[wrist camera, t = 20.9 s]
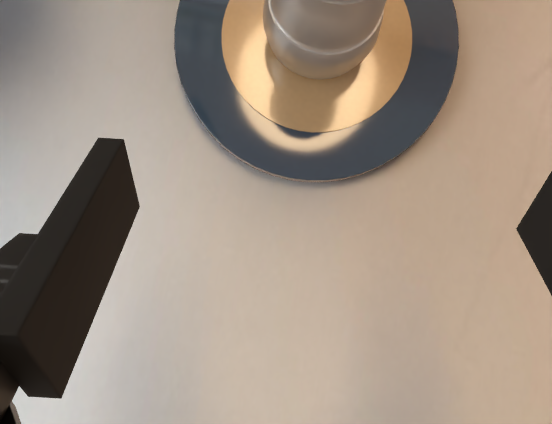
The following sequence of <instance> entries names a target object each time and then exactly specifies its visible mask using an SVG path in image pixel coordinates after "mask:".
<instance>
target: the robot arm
mask: <svg viewBox="0 0 552 424" xmlns="http://www.w3.org/2000/svg"><path fill="white" fill-rule="evenodd" d="M139 207H140V206H139V202H138V197H137V193H136V189H135V185H134V181H133V176H132V172H131V168H130V164H129V160H128V155H127V151H126V147H125V143H124V139H110V138H98V139H97V141H96V142H95V144H94V146H93V147H92V149H91V150H90V152H89V154H88V155H87V157H86V158H85V160H84V162H83V163H82V165H81V166H80V168H79V170H78V171H77V173H76V174H75V176H74V178H73V179H72V181H71V182H70V184H69V186H68V187H67V189H66V190H65V192H64V194H63V195H62V197H61V198H60V200H59V201H58V203H57V205H56V206H55V208H54V209H53V211H52V213H51V214H50V216H49V217H48V219H47V221H46V222H45V224H44V225H43V227H42V229H41V230H40V232H39V233H38V234H23V233H19V234H18V235H17V236H15V237H14V238H13V239H12V240H10V241H9V242H8V243H7V244H5V245H4V246H3V247H1V249H0V424H21V422H20V419H19V416H18V413H17V410H16V407H15V405H14V404H13V402H12V399H13V397H14V395H15V393H16V391H17V389H18V387H19V386H20V387H21V388H22V390H23V391H24V392H25V393H26V394H27V396H29V397H46V398H62V395H63V393H64V390H65V388H66V385H67V383H68V380H69V378H70V376H71V373H72V371H73V368H74V366H75V363H76V361H77V358H78V356H79V354H80V351H81V349H82V346H83V344H84V341H85V339H86V336H87V334H88V332H89V329H90V327H91V324H92V322H93V319H94V317H95V314H96V312H97V310H98V307H99V305H100V302H101V300H102V297H103V295H104V293H105V290H106V288H107V285H108V283H109V280H110V278H111V275H112V273H113V271H114V268H115V266H116V263H117V261H118V258H119V256H120V253H121V251H122V249H123V246H124V244H125V241H126V239H127V236H128V234H129V231H130V229H131V227H132V224H133V222H134V219H135V217H136V214H137V212H138V209H139ZM516 229H517V231H518V233H519V235H520V237H521V239H522V241H523V242H524V244H525V246H526V248H527V250H528V252H529V254H530V256H531V257H532V259H533V261H534V263H535V265H536V267H537V269H538V271H539V272H540V274H541V276H542V278H543V280H544V282H545V284H546V286H547V287H548V289H549V291H550V293H551V295H552V172H551V173H550V175H549V177H548V178H547V180H546V181H545V183H544V185H543V186H542V188H541V190H540V191H539V193H538V194H537V196H536V198H535V199H534V201H533V202H532V204H531V206H530V207H529V209H528V211H527V212H526V214H525V215H524V217H523V219H522V220H521V222H520V224H519V225H518V227H517V228H516Z"/></svg>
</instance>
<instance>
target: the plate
mask: <svg viewBox="0 0 552 424" xmlns="http://www.w3.org/2000/svg"><path fill="white" fill-rule="evenodd" d="M264 2H265V0H180V3H179V7H178V10H177V16H176V23H175V41H174V49H175V56H176V64H177V69H178V73H179V77H180V80H181V84H182V87H183V89H184V92H185V94H186V96H187V99H188V101H189V103H190V105H191V106H192V108H193V110H194V112H195V113H196V115H197V117H198V118H199V120H200V121H201V123H202V124H203V125H204V126H205V128H206V129H207V130H208V132H209V133H210V134H211V135H212V137H213V138H214V139H215V140H216V141H217V142H218V143H219V144H221V145H222V146H223V147H224V148H225V149H226V150H227V151H228V152H230V153H231V154H232V155H234V156H235V157H236V158H238V159H239V160H241V161H243V162H244V163H246V164H248V165H250V166H251V167H253V168H255V169H257V170H260V171H262V172H265V173H267V174H269V175H272V176H276V177H280V178H284V179H287V180H294V181H301V182H330V181H338V180H344V179H348V178H351V177H355V176H359V175H362V174H364V173H367V172H369V171H371V170H374V169H376V168H378V167H380V166H382V165H383V164H385V163H387V162H388V161H390V160H392V159H394V158H395V157H397V156H398V155H400V154H401V153H402V152H404V151H405V150H406V149H407V148H409V147H410V146H411V145H412V144H413V143H414V142H415V141H416V140H417V139H418V138H419V137H420V136H421V135H422V134H423V133H424V132H425V131H426V130H427V129H428V127H429V126H430V125H431V123H432V122H433V121H434V119H435V118H436V116H437V115H438V113H439V111H440V109H441V108H442V106H443V104H444V102H445V100H446V98H447V95H448V93H449V90H450V88H451V85H452V82H453V78H454V74H455V70H456V66H457V58H458V49H459V41H458V24H457V18H456V11H455V8H454V4H453V1H452V0H387V1H386V3H385V6H384V13H383V20H382V24H381V28H380V31H379V35H378V38H377V41H376V43H375V45H374V47H373V49H372V50H371V52H370V53H369V54H368V55H367V56H366V58H365V59H364V60H363V61H361V62H360V63H359V64H358V65H357V66H355V67H354V68H353V69H351V70H350V71H349V72H347V73H345V74H343V75H341V76H338V77H335V78H331V79H320V80H319V79H310V78H307V77H303V76H300V75H298V74H296V73H294V72H292V71H290V70H289V69H288V68H287V67H285V66H284V65H283V64H282V63H281V62H280V61H279V60H278V58H277V57H276V56H275V54H274V52H273V51H272V49H271V47H270V44H269V42H268V40H267V37H266V34H265V31H264V26H263V7H264Z"/></svg>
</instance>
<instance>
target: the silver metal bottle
mask: <svg viewBox="0 0 552 424" xmlns="http://www.w3.org/2000/svg"><path fill="white" fill-rule="evenodd" d="M386 1H387V0H265V2H264V7H263V26H264V31H265V34H266V37H267V40H268V42H269V44H270V47H271V49H272V51H273V52H274V54H275V56H276V57H277V58H278V60H279V61H280V62H281V63H282V64H283V65H284V66H285V67H287V68H288V69H289V70H290V71H292V72H294V73H296V74H298V75H300V76H303V77H307V78H310V79H319V80H320V79H331V78H335V77H338V76H341V75H343V74H345V73H347V72H349V71H350V70H351V69H353V68H354V67H355V66H357V65H358V64H359V63H360V62H361V61H363V60H364V59H365V58H366V56H367V55H368V54H369V53H370V52H371V50H372V49H373V47H374V45H375V43H376V41H377V38H378V35H379V31H380V28H381V24H382V20H383V13H384V6H385V3H386Z"/></svg>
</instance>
